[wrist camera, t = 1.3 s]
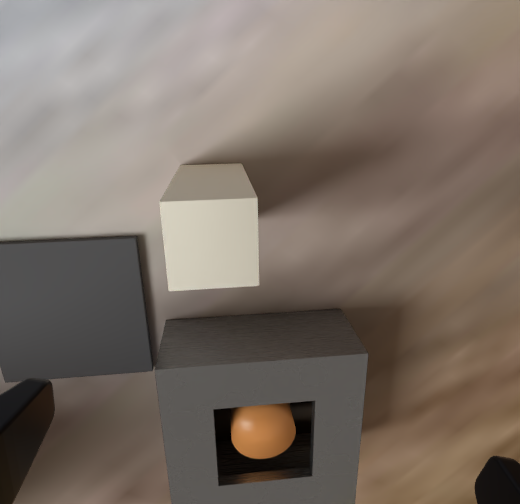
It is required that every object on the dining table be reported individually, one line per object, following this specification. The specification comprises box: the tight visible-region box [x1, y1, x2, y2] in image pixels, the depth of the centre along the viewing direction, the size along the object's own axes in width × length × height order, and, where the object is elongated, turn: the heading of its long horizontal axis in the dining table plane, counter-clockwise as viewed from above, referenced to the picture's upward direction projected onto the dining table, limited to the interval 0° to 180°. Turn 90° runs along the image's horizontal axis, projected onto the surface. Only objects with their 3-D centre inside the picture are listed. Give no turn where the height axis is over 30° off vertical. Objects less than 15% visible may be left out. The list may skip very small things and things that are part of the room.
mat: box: [0, 236, 153, 382], centre depth 21 cm, size 8×8×1 cm
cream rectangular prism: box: [159, 163, 259, 291], centre depth 17 cm, size 3×3×8 cm
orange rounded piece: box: [230, 403, 296, 459], centre depth 22 cm, size 3×3×2 cm
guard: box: [155, 309, 368, 504], centre depth 23 cm, size 10×10×4 cm
